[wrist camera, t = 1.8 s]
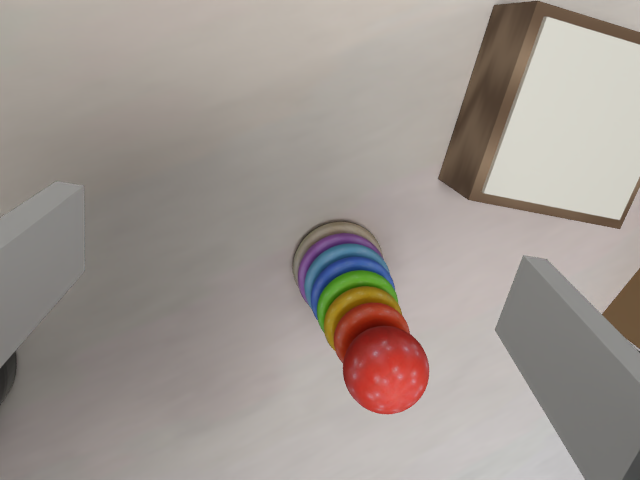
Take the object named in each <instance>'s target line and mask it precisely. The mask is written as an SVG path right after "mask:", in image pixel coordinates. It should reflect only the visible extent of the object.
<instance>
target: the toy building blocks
mask: <svg viewBox="0 0 640 480" xmlns="http://www.w3.org/2000/svg"><path fill="white" fill-rule="evenodd" d="M602 315H603V316H604V317H605V318H606V319H607V320H608V321H609V322H610V323H611V324H612V325H613V326H614V327H615V328H616V329H617V330H618V331H619V332H620V333H621V334H622V335H623V336H624V337H625V338H626V339H628V340H629V341H630V342H632V343H633V344H634V345H636V346H637V347H638V348H639V349H640V269H639V270H638V271H637V272H636V273H635V275H634V276H633V277H632V278H631V280H630V281H629V282H628V283H627V284H626V286H625V287H624V288H623V289H622V291H621V292H620V293H619V294H618V295H617V297H616V298H615V299H614V300H613V302H612V303H611V304H610V305H609V306H608V308H607V309H606V310H605V311H604V313H603V314H602Z"/></svg>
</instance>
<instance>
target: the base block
mask: <svg viewBox="0 0 640 480" xmlns="http://www.w3.org/2000/svg"><path fill="white" fill-rule="evenodd" d="M438 179H439V180H441V181H442V182H444V183H445V184H447V185H448V186H449V187H451V188H452V189H454V190H455V191H457V192H458V193H459V194H461V195H462V196H464V197H465V198H467V199H468V200H472V201H477V202H482V203H487V204H493V205H498V206H503V207H508V208H513V209H519V210H524V211H529V212H534V213H539V214H545V215H550V216H555V217H560V218H565V219H570V220H576V221H581V222H586V223H591V224H596V225H602V226H607V227H612V228H617V229H620V228H621V226H622V224H623V221H624V219H625V217H626V215H627V213H628V211H629V209H630V206H631V204H632V202H633V200H634V198H635V196H636V194H637V191H638V189H639V187H640V32H637V31H634V30H630V29H627V28H624V27H621V26H618V25H614V24H611V23H608V22H605V21H601V20H598V19H595V18H592V17H589V16H585V15H582V14H579V13H576V12H572V11H569V10H566V9H563V8H560V7H556V6H553V5H550V4H547V3H543V2H540V1H531V2H521V3H511V4H501V5H494V7H493V10H492V13H491V17H490V20H489V23H488V26H487V29H486V32H485V35H484V38H483V41H482V44H481V48H480V51H479V54H478V57H477V60H476V63H475V66H474V69H473V72H472V75H471V79H470V82H469V85H468V88H467V91H466V94H465V97H464V100H463V103H462V107H461V110H460V113H459V116H458V119H457V122H456V125H455V128H454V131H453V134H452V138H451V141H450V144H449V147H448V150H447V153H446V156H445V159H444V162H443V165H442V169H441V172H440V175H439V178H438Z"/></svg>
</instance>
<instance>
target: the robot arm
mask: <svg viewBox="0 0 640 480" xmlns="http://www.w3.org/2000/svg"><path fill="white" fill-rule="evenodd" d="M84 271H85V212H84V185H78V184H72V183H65V182H59V181H56V182H54V183H53V184H51V185H50V186H48V187H47V188H45V189H43V190H42V191H40V192H39V193H37V194H36V195H34V196H33V197H31V198H30V199H28V200H27V201H25V202H24V203H22V204H21V205H19V206H18V207H16V208H14V209H13V210H11V211H10V212H8V213H7V214H5V215H4V216H2V217H1V218H0V405H1V403H2V402H3V400H4V399H5V397H6V395H7V394H8V392H9V390H10V388H11V386H12V384H13V381H14V377H15V372H16V357H15V351H16V350H17V348H18V347H19V346H20V345H21V344H22V343H23V341H24V340H25V339H26V338H27V337H28V336H29V335H30V333H31V332H32V331H33V330H34V329H35V328H36V327H37V325H38V324H39V323H40V322H41V321H42V320H43V319H44V317H45V316H46V315H47V314H48V313H49V312H50V310H51V309H52V308H53V307H54V306H55V305H56V304H57V302H58V301H59V300H60V299H61V298H62V297H63V296H64V294H65V293H66V292H67V291H68V290H69V289H70V288H71V286H72V285H73V284H74V283H75V282H76V281H77V280H78V278H79V277H80V276H81V275H82V274H83V273H84ZM495 331H496V333H497V334H498V336H499V338H500V339H501V341H502V343H503V344H504V346H505V347H506V349H507V351H508V352H509V354H510V356H511V357H512V359H513V361H514V362H515V364H516V366H517V367H518V369H519V371H520V372H521V374H522V376H523V377H524V379H525V381H526V382H527V384H528V386H529V387H530V389H531V391H532V392H533V394H534V396H535V397H536V399H537V401H538V402H539V404H540V406H541V407H542V409H543V410H544V412H545V414H546V415H547V417H548V419H549V420H550V422H551V424H552V425H553V427H554V429H555V430H556V432H557V434H558V435H559V437H560V439H561V440H562V442H563V444H564V445H565V447H566V449H567V450H568V452H569V454H570V455H571V457H572V459H573V460H574V462H575V464H576V465H577V467H578V469H579V470H580V472H581V473H582V475H583V477H584V478H585V480H640V351H638V350H637V349H635V348H634V347H633V346H632V345H631V344H630V343H629V342H628V341H627V339H626V338H625V337H624V336H623V335H622V334H621V333H620V332H619V331H618V330H617V329H616V328H615V327H614V326H613V325H612V324H611V323H610V322H609V321H608V320H607V319H606V318H605V317H604V316H603V315H602V314H601V313H600V312H599V311H598V310H597V309H596V308H595V307H594V306H593V305H592V304H591V303H590V302H589V301H588V300H587V299H586V298H585V297H584V296H583V295H582V294H581V293H580V292H579V291H578V290H577V289H576V288H575V287H574V286H573V285H572V284H571V283H570V282H569V281H568V280H567V279H566V278H565V277H564V276H563V275H562V274H561V273H560V272H559V271H558V270H557V269H556V268H555V267H554V266H553V265H552V264H551V263H550V262H549V261H548V260H547V259H543V258H536V257H530V256H524V255H523V257H522V260H521V263H520V265H519V268H518V270H517V273H516V276H515V278H514V281H513V284H512V286H511V289H510V291H509V294H508V297H507V299H506V302H505V305H504V307H503V310H502V313H501V315H500V318H499V320H498V323H497V326H496V328H495Z"/></svg>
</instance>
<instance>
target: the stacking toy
mask: <svg viewBox="0 0 640 480" xmlns="http://www.w3.org/2000/svg"><path fill="white" fill-rule="evenodd" d="M293 274H294V278H295V281H296V284H297V286H298V287H299V289H300V292H301V295H302V297H303V298H304V300H305V301H306V302H307V303H308V305H309V306H310V307H311V309H312V310H313V313H314V315H315V317H316V319H317V320H318V322H319V325H320V327H321V329H322V330H323V332H324V333H325V336H326V339H327V341H328V343H329V344H330V346H331V347H332V348H333V349H334V350H335V351H336V353H337V356H338V357H339V359H340V360H341V362H342V363H343V376H344V381H345V384H346V387H347V389H348V391H349V392H350V394H351V395H352V397H353V398H354V399H355V400H356V401H357V402H358V403H359V404H360V405H361V406H363V407H364V408H366V409H368V410H370V411H372V412H375V413H379V414H394V413H398V412H402V411H404V410H406V409H408V408H410V407H411V406H412V405H414V404H415V403H416V402H417V401H418V400H419V399H420V398H421V396H422V395H423V393H424V391H425V389H426V386H427V384H428V379H429V364H428V359H427V356H426V354H425V352H424V350H423V348H422V346H421V345H420V343H419V342H418V341H417V340H416V339H415V338H414V337H413V336H412V335H410V331H409V328H408V325H407V322H406V320H405V319H404V317H403V316H402V312H401V309H400V307H399V305H398V299H397V295H396V292H395V287H394V283H393V280H392V278H391V276H390V273H389V269H388V267H387V265H386V263H385V261H384V259H383V257H382V252H381V249H380V246H379V244H378V242H377V240H376V239H375V238H374V236H373V235H372V234H371V233H370V232H369V231H367V230H366V229H364V228H363V227H361V226H359V225H356V224H353V223H349V222H333V223H329V224H325V225H323V226H320V227H318V228H317V229H315V230H313V231H312V232H311V233H309V234H308V235H307V236H306V237H305V238H304V240H303V241H302V242H301V244H300V245H299V247H298V249H297V251H296V254H295V257H294V262H293Z"/></svg>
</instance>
